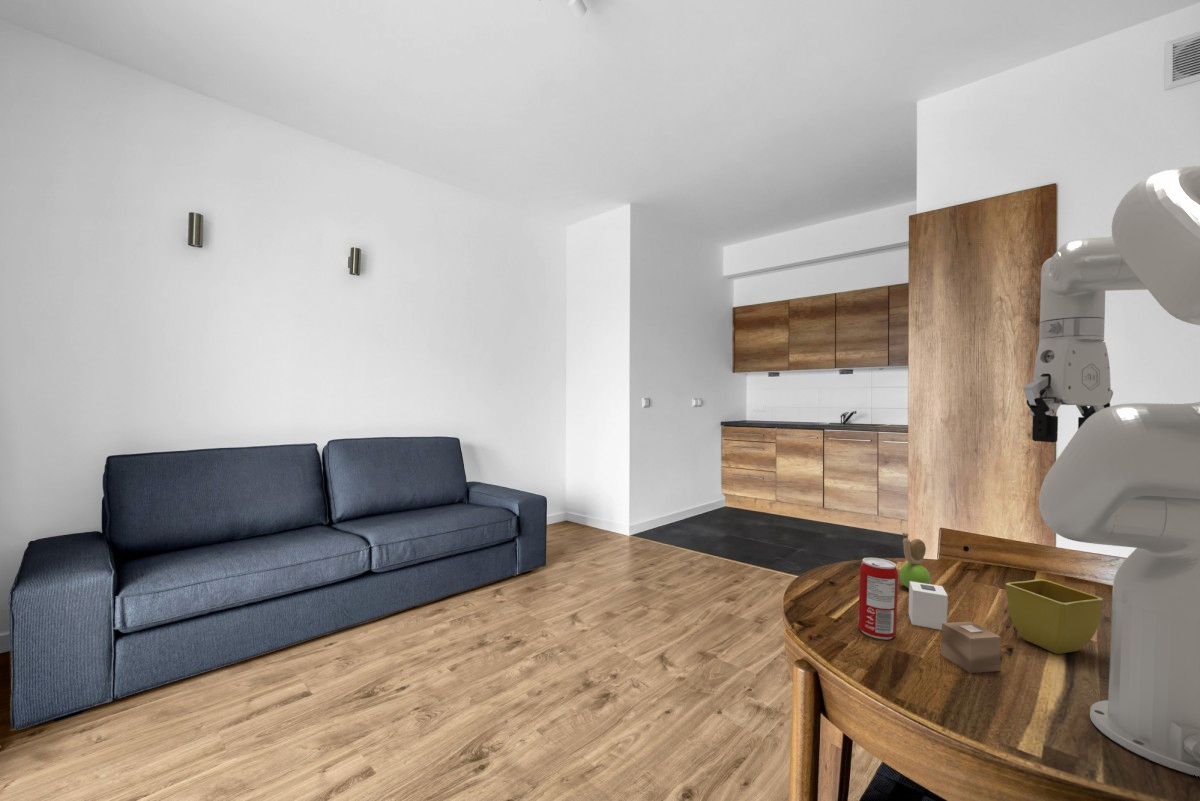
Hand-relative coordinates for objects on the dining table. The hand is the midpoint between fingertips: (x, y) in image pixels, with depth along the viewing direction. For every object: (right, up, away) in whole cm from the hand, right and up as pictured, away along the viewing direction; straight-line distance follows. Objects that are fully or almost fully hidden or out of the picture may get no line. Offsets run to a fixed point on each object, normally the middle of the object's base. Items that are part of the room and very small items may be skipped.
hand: (1067, 442), depth 80 cm
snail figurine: (-9, -33, +24) cm, 42 cm away
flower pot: (-1, -33, +2) cm, 33 cm away
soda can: (-28, -32, +5) cm, 43 cm away
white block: (-16, -32, +9) cm, 37 cm away
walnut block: (-19, -33, -4) cm, 38 cm away
